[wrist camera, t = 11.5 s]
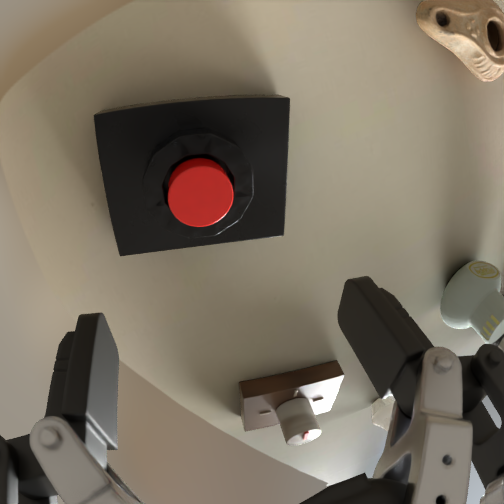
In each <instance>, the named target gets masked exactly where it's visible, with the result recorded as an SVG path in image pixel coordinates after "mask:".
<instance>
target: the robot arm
mask: <svg viewBox="0 0 504 504" xmlns="http://www.w3.org/2000/svg"><path fill="white" fill-rule="evenodd" d="M338 323H339V326H340V328H341V330H342V332H343V334H344V335H345V337H346V339H347V340H348V342H349V344H350V345H351V347H352V349H353V351H354V352H355V354H356V356H357V357H358V359H359V361H360V363H361V364H362V366H363V368H364V370H365V371H366V373H367V375H368V377H369V378H370V380H371V382H372V384H373V385H374V387H375V389H376V391H377V392H378V394H379V396H380V398H381V399H384V398H387V397H389V396H392V395H393V396H394V398H395V402H394V404H393V409H392V414H391V420H390V425H389V430H388V435H387V439H386V444H385V448H384V451H383V454H382V456H381V458H380V459H379V461H378V463H377V466H376V468H375V471H374V474H373V478H367V476H366V474H365V473H363V474H360V475H358V476H355V477H353V478H350V479H347V480H345V481H342V482H339V483H336V484H334V485H331V486H329V487H327V488H325V489H324V490H322V491H320V492H319V493H317V494H315V495H314V496H312V497H310V498H309V499H307V500H305V501H303V502H301V503H300V504H466V501H467V494H468V487H469V478H470V468H471V460H472V462H473V464H474V466H475V468H476V470H477V473H478V474H479V477H480V479H481V481H482V483H483V485H484V488H485V490H486V491H485V495H483V496H482V497H481V499H480V504H504V352H503V350H501V349H500V348H499V347H498V346H496V345H493V344H484V345H482V346H481V347H480V348H479V350H478V351H477V353H476V354H475V355H472V356H459V357H457V356H456V354H455V353H453V352H452V351H451V350H449V349H447V348H444V347H434V346H433V345H432V343H431V342H430V341H429V339H428V338H427V337H426V335H425V334H424V333H423V331H422V330H421V329H420V328H419V326H418V325H417V324H416V322H415V321H414V320H413V319H412V317H411V316H410V317H409V314H408V312H407V311H406V310H405V309H404V308H402V305H401V304H400V302H399V301H398V300H397V299H396V298H395V296H394V295H392V294H391V293H389V292H388V291H386V290H385V289H383V288H378V286H377V285H376V284H375V283H374V282H373V280H372V279H371V278H370V277H368V276H364V277H359V278H353V279H348V280H347V281H346V282H345V285H344V289H343V293H342V297H341V301H340V305H339V309H338ZM118 370H119V355H118V349H117V346H116V343H115V341H114V338H113V336H112V333H111V331H110V329H109V326H108V324H107V321H106V319H105V316H104V314H103V313H92V314H81V315H79V317H78V321H77V325H76V330H75V331H73V332H67V334H66V335H65V336H64V338H63V339H62V341H61V343H60V344H59V347H58V352H57V356H56V361H55V365H54V372H53V375H52V380H51V385H50V390H49V396H48V402H47V409H46V414H45V417H44V418H43V419H41V420H39V421H38V422H37V423H36V424H35V425H34V427H33V428H32V430H31V433H30V434H28V435H25V436H21V437H17V438H13V439H9V440H5V439H4V438H3V437H2V436H0V504H58V503H57V495H59V496H60V497H61V499H62V500H63V502H64V503H65V504H145V503H144V502H143V501H142V500H141V499H140V498H139V497H138V496H137V495H136V494H135V493H134V492H133V491H132V490H131V489H130V488H129V487H128V486H127V484H126V483H125V482H124V481H123V480H122V479H121V478H120V476H119V475H118V474H117V473H116V472H115V471H114V469H113V468H112V467H111V466H110V465H109V464H108V462H107V450H117V397H118ZM486 395H488V397H489V399H490V400H491V402H492V404H493V405H494V407H495V409H496V410H497V412H498V413H499V415H500V417H501V420H502V425H501V428H500V429H499V428H497V427H496V425H495V423H494V421H493V420H492V418H491V417H490V415H489V413H488V411H487V409H486V408H485V406H484V404H483V403H482V400H483V399H484V398H485V396H486Z"/></svg>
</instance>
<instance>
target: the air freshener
mask: <svg viewBox="0 0 504 504" xmlns="http://www.w3.org/2000/svg"><path fill="white" fill-rule="evenodd" d="M500 288H501V274H500V271H499V270H498V269H497V268H496V267H495V266H493V265H492V264H490V263H487V262H484V261H471V262H469V263H467V264H466V265H464V266H463V267H462V268H461V269H459V270H458V271H457V272H456V273H455V274H454V276H453V277H452V278H451V280H450V281H449V283H448V285H447V286H446V288H445V291H444V293H443V296H442V300H441V306H440V311H441V317H442V319H443V321H444V322H445V323H446V324H447V325H448V326H450V327H452V328H456V329H465V328H469V327H471V326H472V327H473V329H474V330H475V331H476V332H477V333H478V334H479V335H480V337H481V338H482V339H483V340H484V341H485V343H486V344H491V343H493V342H495V341H496V340H497V339H499V338H500V337H501V336H502V335H503V334H504V297H503V296H502V295H501V294H500V293H499V292H500Z"/></svg>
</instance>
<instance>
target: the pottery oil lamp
mask: <svg viewBox="0 0 504 504" xmlns="http://www.w3.org/2000/svg"><path fill="white" fill-rule="evenodd" d="M416 19H417V23H418V25H419V26H420V28H421V29H422V30H423V31H424V32H425V33H426V34H427V35H429V36H430V37H431V38H432V39H434V40H435V41H437V42H438V43H440V44H441V45H443V46H444V47H446V48H447V49H449V50H450V51H451V52H453V53H454V54H455V55H456V56H457V57H458V58H459V59H460V60H461V61H462V62H463V63H464V64H465V66H466V67H467V68H468V69H469V70H470V71H471V72H472V73H473V74H474V75H475V76H476V77H477V78H478V79H480V80H482V81H486V82H488V81H493V80H495V79H497V78H498V77H499V76H500V75H501V74H502V73H503V72H504V13H503V12H502V10H501V9H500V8H499V6H498V5H497V4H496V3H495V2H494V1H493V0H428V1H423V2H421V3H420V4H419V6H418V8H417V12H416Z"/></svg>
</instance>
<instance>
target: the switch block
mask: <svg viewBox="0 0 504 504" xmlns="http://www.w3.org/2000/svg"><path fill="white" fill-rule="evenodd" d="M289 112H290V98H288V97H284V96H281V95H234V96H214V97H199V98H187V99H177V100H167V101H159V102H151V103H144V104H137V105H130V106H124V107H118V108H113V109H107V110H102V111H100V112H98V113H97V114H95V115H94V123H95V131H96V139H97V146H98V152H99V159H100V165H101V171H102V177H103V182H104V188H105V193H106V198H107V203H108V208H109V212H110V217H111V221H112V226H113V230H114V234H115V239H116V243H117V247H118V251H119V255H120V256H126V255H134V254H141V253H149V252H157V251H164V250H172V249H180V248H188V247H196V246H204V245H212V244H220V243H228V242H236V241H244V240H253V239H261V238H269V237H278V236H284V224H285V206H286V186H287V165H288V141H289ZM193 158H206V159H210V160H213V161H214V162H216V163H218V164H219V165H220V166H221V167H222V168H223V169H224V171H225V172H226V174H227V176H228V178H229V180H230V182H231V185H232V188H233V202H232V205H231V207H230V209H229V211H228V212H227V214H226V215H225V216H224V217H223V218H222V219H220V220H219V221H218V222H216V223H214V224H211V225H208V226H203V227H195V226H190V225H187V224H185V223H183V222H181V221H179V220H178V219H177V218H176V217H175V216H174V215H173V213H172V212H171V210H170V207H169V204H168V183H169V179H170V176H171V174H172V173H173V171H174V170H175V169H176V168H177V167H178V166H179V165H180V164H181V163H183V162H185V161H187V160H189V159H193Z"/></svg>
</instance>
